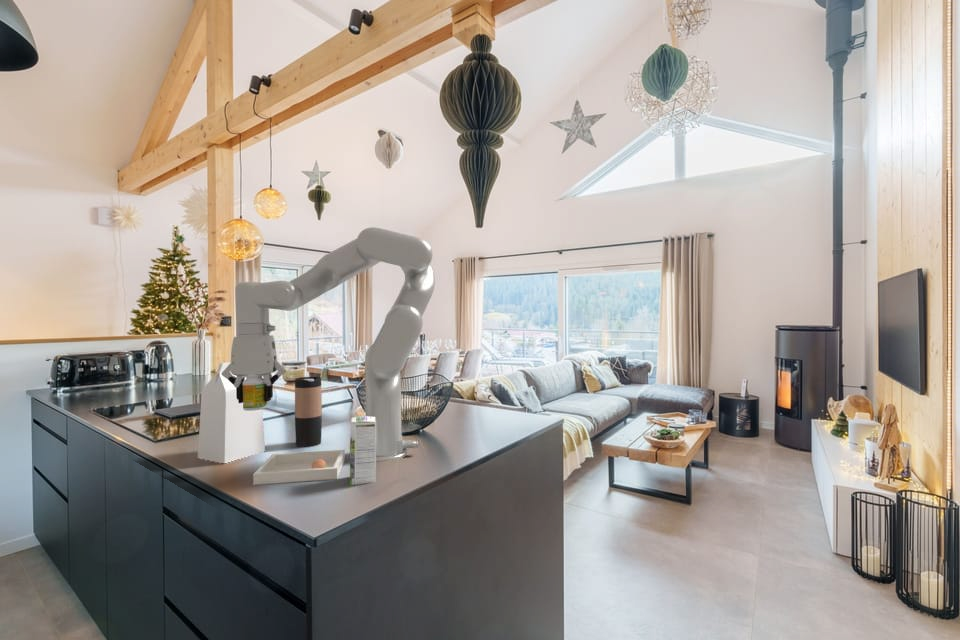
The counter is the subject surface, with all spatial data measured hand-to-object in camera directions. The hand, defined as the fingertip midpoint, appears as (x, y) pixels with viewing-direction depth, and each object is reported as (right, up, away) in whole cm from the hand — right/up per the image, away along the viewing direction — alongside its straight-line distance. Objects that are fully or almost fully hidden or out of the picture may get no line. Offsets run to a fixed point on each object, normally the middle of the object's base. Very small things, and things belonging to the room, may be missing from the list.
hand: (255, 400), depth 111 cm
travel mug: (+5, -17, +21) cm, 28 cm away
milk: (-12, -17, +11) cm, 24 cm away
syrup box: (+31, -17, -11) cm, 37 cm away
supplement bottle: (0, -2, 0) cm, 2 cm away
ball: (+19, -16, -6) cm, 25 cm away
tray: (+14, -17, -5) cm, 22 cm away
